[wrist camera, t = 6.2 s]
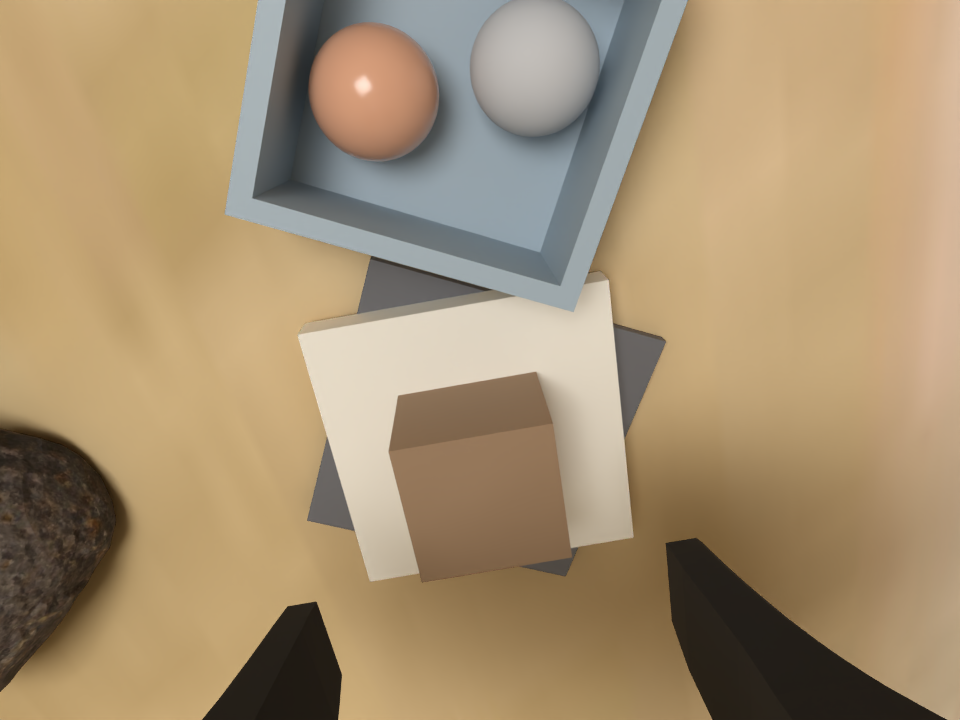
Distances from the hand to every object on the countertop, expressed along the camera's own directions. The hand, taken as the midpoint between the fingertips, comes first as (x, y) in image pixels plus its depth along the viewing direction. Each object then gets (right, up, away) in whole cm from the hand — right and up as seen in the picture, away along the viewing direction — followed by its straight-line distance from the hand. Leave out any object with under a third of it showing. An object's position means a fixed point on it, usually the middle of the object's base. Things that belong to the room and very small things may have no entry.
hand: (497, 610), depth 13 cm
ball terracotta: (-3, +12, +3) cm, 13 cm away
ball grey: (+1, +12, +3) cm, 13 cm away
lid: (0, +3, +7) cm, 8 cm away
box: (-1, +12, +4) cm, 13 cm away
